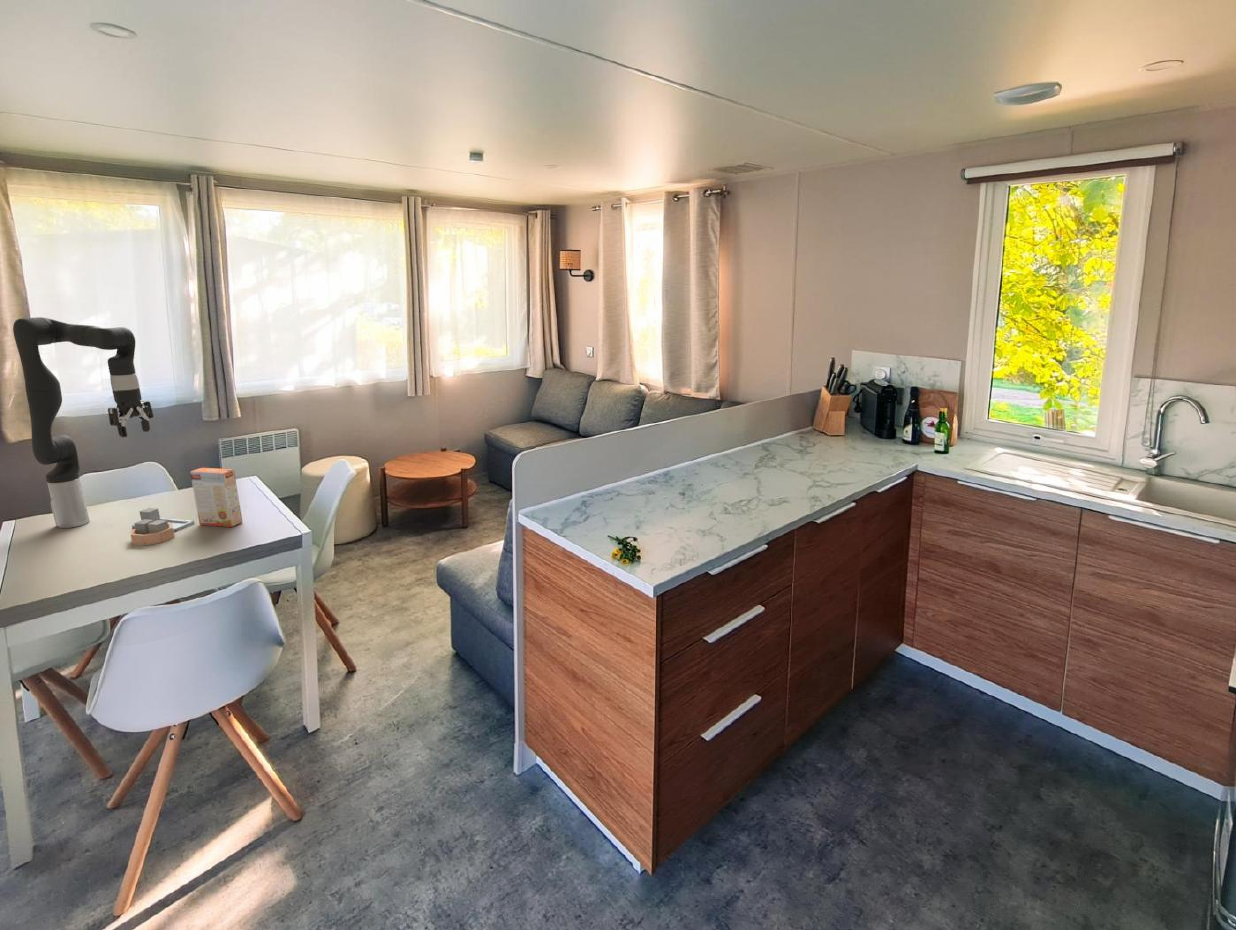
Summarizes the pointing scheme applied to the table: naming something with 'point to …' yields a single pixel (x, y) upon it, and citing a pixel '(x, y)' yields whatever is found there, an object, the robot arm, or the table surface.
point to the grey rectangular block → (157, 526)
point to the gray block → (150, 514)
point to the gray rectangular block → (142, 526)
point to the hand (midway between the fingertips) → (135, 434)
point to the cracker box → (216, 497)
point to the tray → (176, 523)
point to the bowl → (152, 536)
